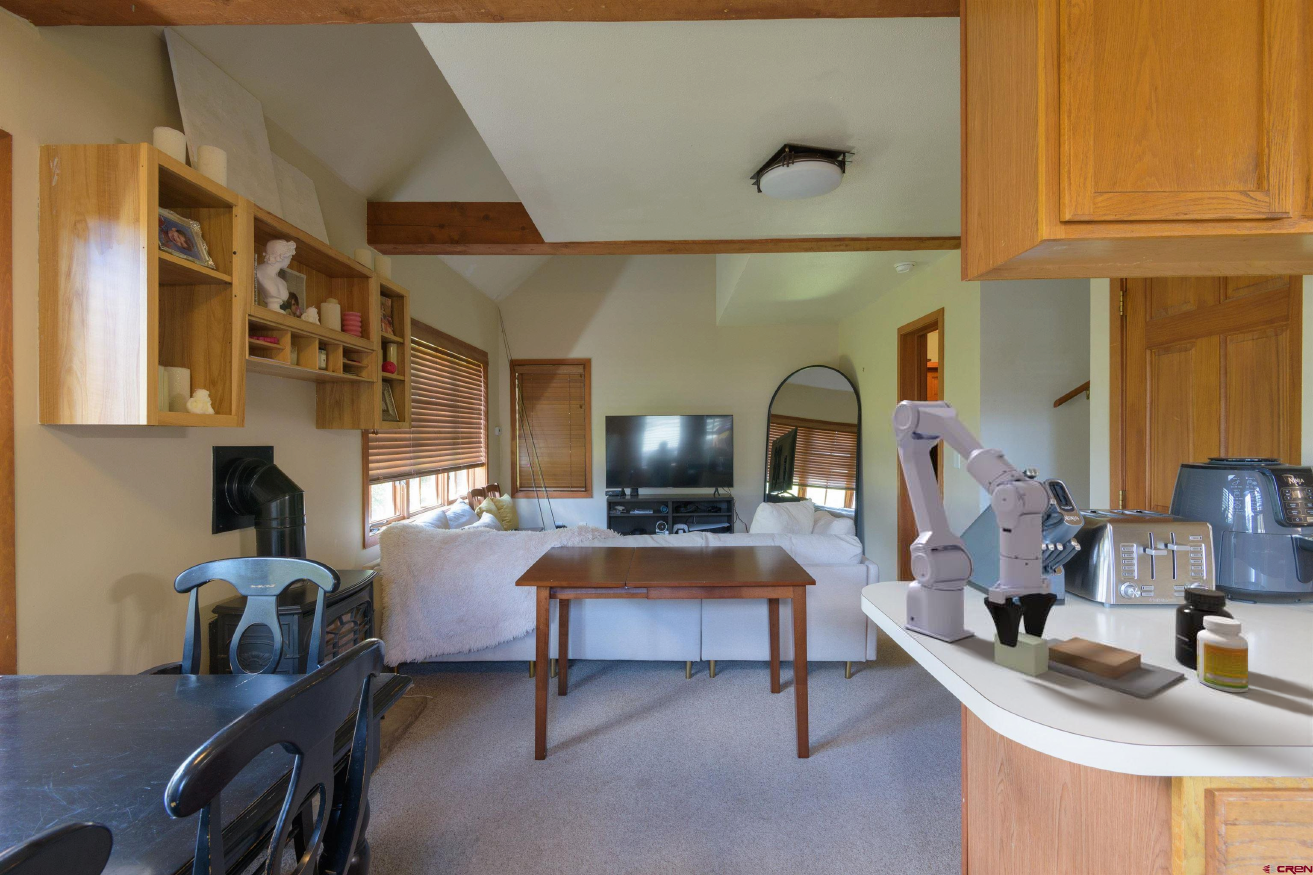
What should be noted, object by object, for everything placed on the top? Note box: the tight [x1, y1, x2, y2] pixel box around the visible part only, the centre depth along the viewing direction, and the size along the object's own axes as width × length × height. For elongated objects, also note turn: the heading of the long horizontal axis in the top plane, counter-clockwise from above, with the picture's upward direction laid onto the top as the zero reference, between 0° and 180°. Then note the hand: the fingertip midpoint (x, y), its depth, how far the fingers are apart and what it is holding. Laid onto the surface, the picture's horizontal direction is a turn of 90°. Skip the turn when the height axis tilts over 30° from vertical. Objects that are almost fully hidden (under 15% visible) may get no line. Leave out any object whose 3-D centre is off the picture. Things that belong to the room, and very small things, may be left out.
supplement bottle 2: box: [1196, 616, 1249, 693], centre depth 85 cm, size 5×5×10 cm
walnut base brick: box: [1049, 636, 1142, 680], centre depth 92 cm, size 9×9×2 cm
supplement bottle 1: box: [1174, 587, 1235, 671], centre depth 92 cm, size 7×7×12 cm
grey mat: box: [1047, 637, 1185, 700], centre depth 92 cm, size 18×14×1 cm
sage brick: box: [994, 631, 1049, 677], centre depth 92 cm, size 6×4×5 cm, turn 31°
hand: (1021, 640), depth 92 cm, fingers open, 7 cm apart
